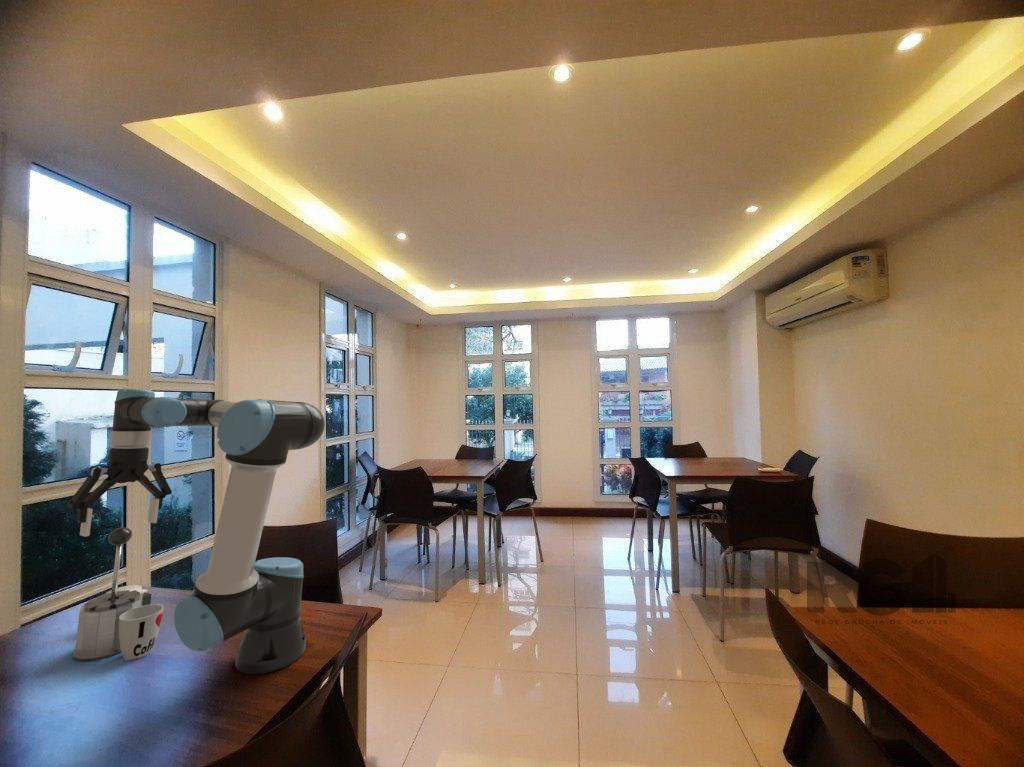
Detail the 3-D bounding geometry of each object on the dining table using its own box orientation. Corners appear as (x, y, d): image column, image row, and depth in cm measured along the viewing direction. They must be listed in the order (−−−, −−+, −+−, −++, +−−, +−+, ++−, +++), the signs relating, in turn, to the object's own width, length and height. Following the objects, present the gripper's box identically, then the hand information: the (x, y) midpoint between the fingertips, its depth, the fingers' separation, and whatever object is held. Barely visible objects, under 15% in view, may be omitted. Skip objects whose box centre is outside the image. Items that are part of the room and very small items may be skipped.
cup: (131, 666, 93) (136, 622, 93) (105, 661, 94) (110, 617, 95) (167, 646, 101) (171, 606, 101) (143, 642, 102) (147, 602, 103)
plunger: (142, 603, 103) (150, 525, 105) (98, 619, 95) (108, 534, 97) (124, 597, 106) (133, 521, 108) (80, 611, 98) (90, 529, 100)
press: (157, 637, 104) (162, 591, 105) (87, 666, 92) (93, 614, 93) (132, 626, 109) (137, 582, 110) (62, 653, 96) (68, 603, 97)
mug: (150, 618, 114) (154, 586, 115) (109, 633, 105) (113, 599, 106) (136, 612, 117) (139, 581, 117) (94, 627, 108) (98, 593, 109)
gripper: (176, 443, 117) (168, 515, 115) (55, 448, 94) (43, 539, 92) (191, 445, 114) (183, 519, 112) (70, 451, 91) (58, 544, 89)
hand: (120, 528), depth 102 cm, fingers open, 13 cm apart
